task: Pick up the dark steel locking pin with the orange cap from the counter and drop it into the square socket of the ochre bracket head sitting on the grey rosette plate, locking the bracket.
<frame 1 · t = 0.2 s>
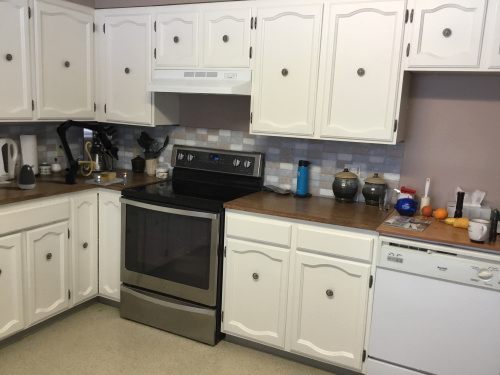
hand: (115, 159, 324), 15 cm above the worktop, tool tilted 30°, fingers open, 9 cm apart
wall sconce: (87, 176, 340), on the worktop
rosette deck: (104, 181, 318), on the worktop
pump dispenser: (27, 189, 281), on the worktop
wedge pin: (124, 184, 313), on the worktop
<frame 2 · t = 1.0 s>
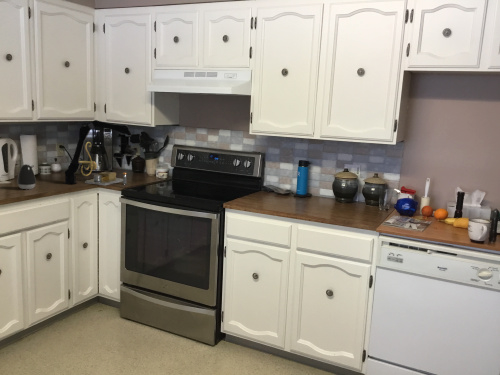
hand: (124, 166, 311), 12 cm above the worktop, tool pointing down, fingers open, 9 cm apart
nothing on the worktop moved.
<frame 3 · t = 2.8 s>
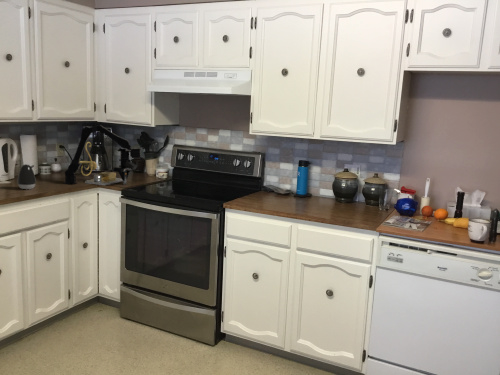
hand: (124, 180, 313), 3 cm above the worktop, tool pointing down, fingers closed on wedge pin, 2 cm apart
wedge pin: (124, 184, 313), on the worktop, touching gripper
everything else where it was.
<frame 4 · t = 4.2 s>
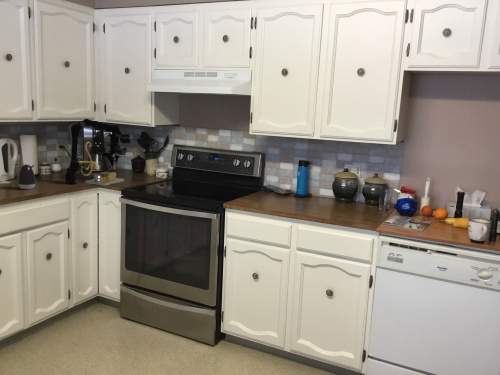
hand: (113, 166, 316), 12 cm above the worktop, tool pointing down, fingers closed on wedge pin, 2 cm apart
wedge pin: (113, 169, 316), point 9 cm above the worktop, touching gripper
everything else where it was.
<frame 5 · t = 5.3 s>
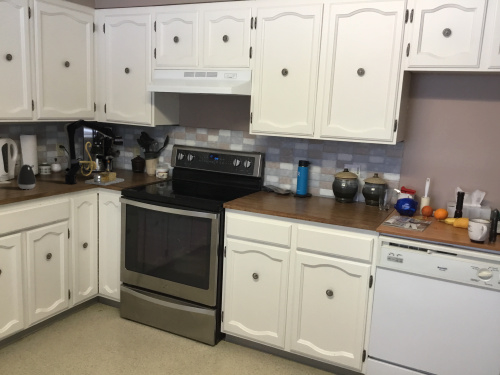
hand: (107, 168, 319), 9 cm above the worktop, tool pointing down, fingers closed on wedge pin, 2 cm apart
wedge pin: (107, 171, 320), point 7 cm above the worktop, touching gripper
everything else where it was.
when the fingers open (7 cm above the worktop, at t = 5.9 s): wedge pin drops 3 cm, resting on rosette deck.
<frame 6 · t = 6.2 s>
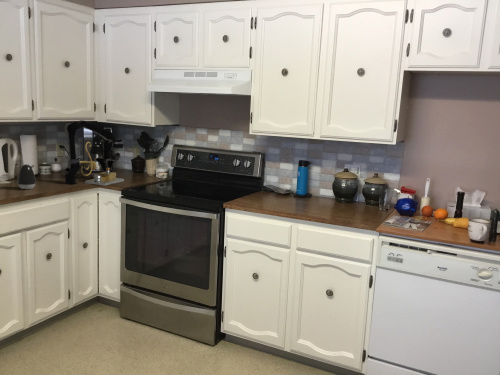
hand: (107, 171, 320), 7 cm above the worktop, tool pointing down, fingers open, 5 cm apart
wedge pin: (107, 179, 321), point 2 cm above the worktop, touching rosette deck
everything else where it was.
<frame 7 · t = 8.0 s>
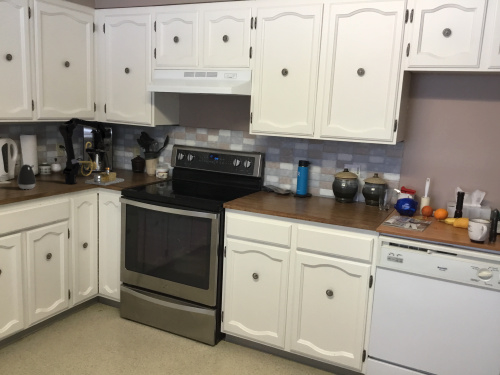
hand: (97, 161, 322), 13 cm above the worktop, tool pointing down, fingers open, 9 cm apart
nothing on the worktop moved.
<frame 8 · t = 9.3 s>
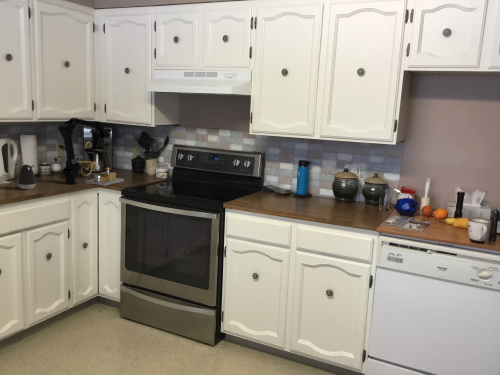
hand: (96, 161, 323), 13 cm above the worktop, tool pointing down, fingers open, 9 cm apart
nothing on the worktop moved.
at the end: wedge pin 0.1 cm from the target spot on the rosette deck, point 1.5 cm above the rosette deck's base; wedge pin tilted 1°; the gripper is holding nothing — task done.
